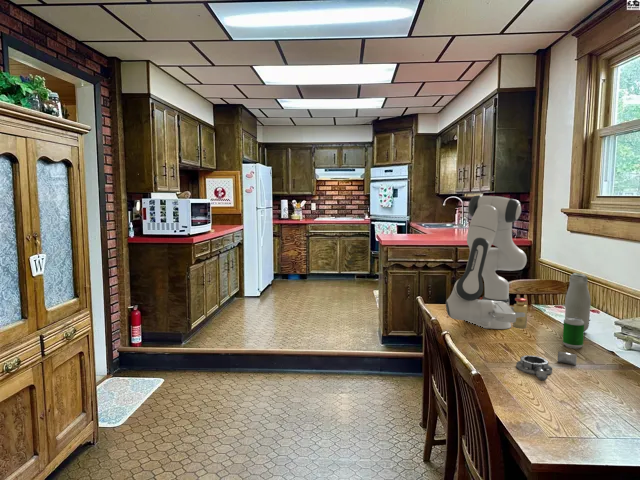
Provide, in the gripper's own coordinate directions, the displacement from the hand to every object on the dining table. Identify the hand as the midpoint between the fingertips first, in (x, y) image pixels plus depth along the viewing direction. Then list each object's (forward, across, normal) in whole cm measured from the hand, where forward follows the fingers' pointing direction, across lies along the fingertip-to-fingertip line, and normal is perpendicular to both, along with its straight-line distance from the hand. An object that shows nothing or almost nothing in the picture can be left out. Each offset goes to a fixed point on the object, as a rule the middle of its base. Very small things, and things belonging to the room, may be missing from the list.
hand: (522, 312), depth 174 cm
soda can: (+24, +13, +17) cm, 32 cm away
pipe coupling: (+15, -8, +17) cm, 24 cm away
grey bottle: (+33, +35, +17) cm, 51 cm away
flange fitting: (+1, -18, +17) cm, 25 cm away
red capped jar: (-1, 0, +6) cm, 6 cm away
